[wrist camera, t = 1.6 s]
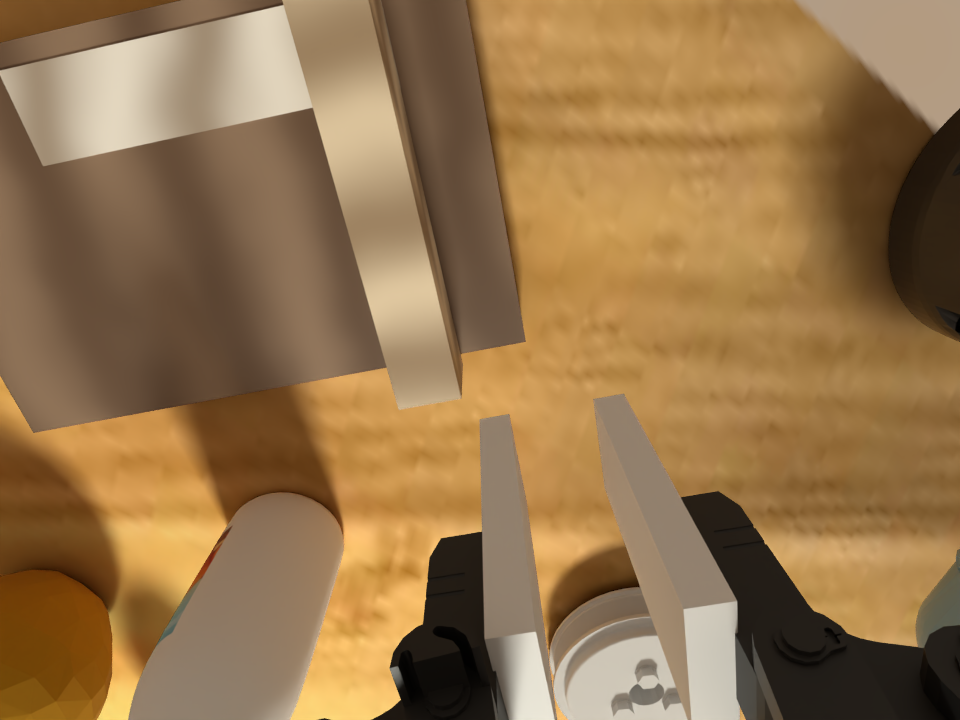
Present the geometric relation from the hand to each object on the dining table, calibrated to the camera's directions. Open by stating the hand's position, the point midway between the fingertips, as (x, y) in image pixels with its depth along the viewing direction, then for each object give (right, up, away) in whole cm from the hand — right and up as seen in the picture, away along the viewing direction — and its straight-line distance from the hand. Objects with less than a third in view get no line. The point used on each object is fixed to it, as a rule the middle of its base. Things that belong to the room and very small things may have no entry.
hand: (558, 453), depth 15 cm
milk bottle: (-15, -9, +24) cm, 30 cm away
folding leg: (-6, +10, +12) cm, 17 cm away
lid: (+9, -19, +29) cm, 36 cm away
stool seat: (-15, +10, +16) cm, 24 cm away
